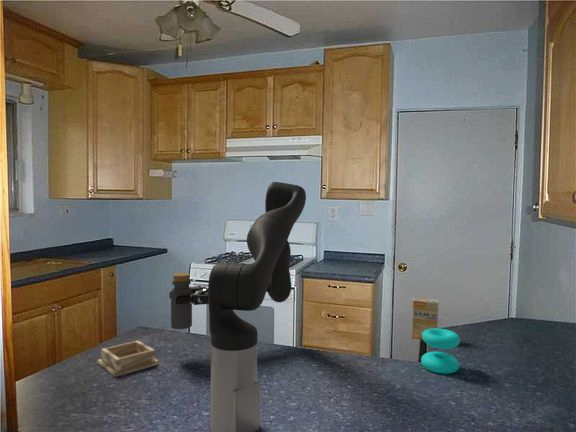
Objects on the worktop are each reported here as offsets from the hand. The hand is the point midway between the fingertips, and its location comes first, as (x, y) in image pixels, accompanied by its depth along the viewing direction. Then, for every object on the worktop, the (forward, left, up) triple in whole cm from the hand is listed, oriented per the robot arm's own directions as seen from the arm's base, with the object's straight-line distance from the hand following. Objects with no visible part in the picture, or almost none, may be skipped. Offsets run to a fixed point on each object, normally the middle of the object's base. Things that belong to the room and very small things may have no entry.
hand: (172, 297), depth 118 cm
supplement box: (-40, -71, -18) cm, 84 cm away
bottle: (-1, -2, -9) cm, 9 cm away
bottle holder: (+5, +11, -18) cm, 21 cm away
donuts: (-55, -51, -18) cm, 77 cm away
